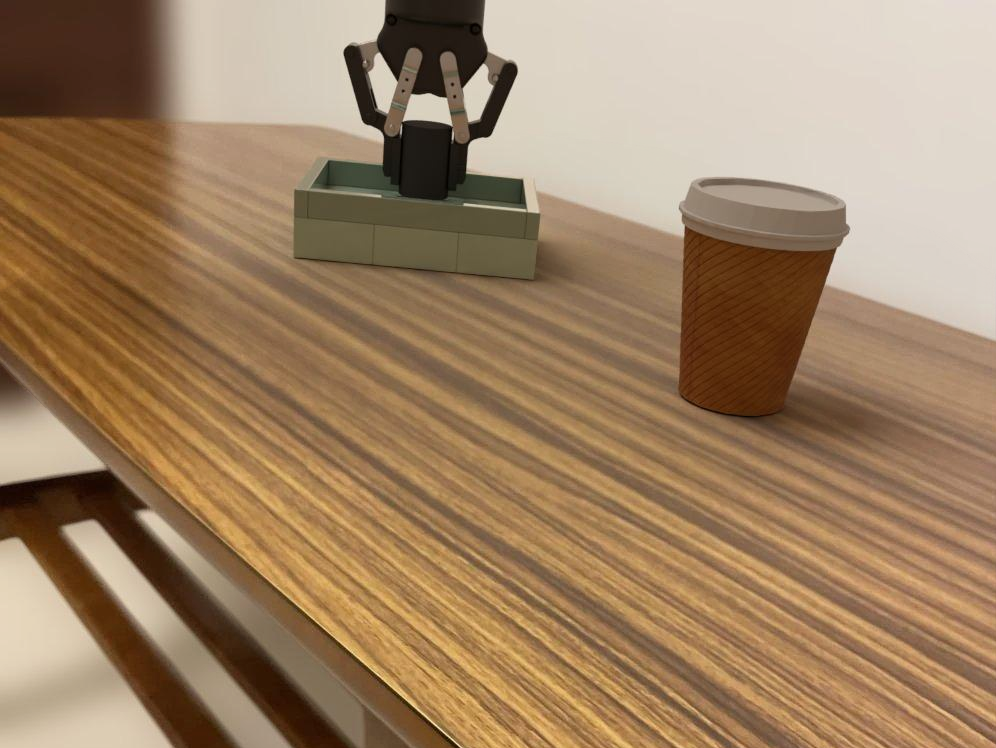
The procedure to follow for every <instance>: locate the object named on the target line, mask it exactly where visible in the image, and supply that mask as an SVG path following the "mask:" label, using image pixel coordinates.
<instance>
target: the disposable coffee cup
mask: <svg viewBox="0 0 996 748" xmlns="http://www.w3.org/2000/svg"><path fill="white" fill-rule="evenodd" d="M678 210H679V212H680V214H681V223H682V224H683V225H684V229H683V230H684V232H683V233H684V235H683V249H682V250H683V254H682V255H683V259H682V282H681V286H682V287H681V289H682V290H681V313H680V314H681V315H680V344H679V370H678V372H679V374H678V393H679V394H680V396H681V397H683V398H684V399H685V400H686V401H689V402H690V403H692V404H694V405H696V406H699V407H701V408H703V409H704V408H705V409H707V410H710V411H714V412H718V413H721V414H726V415H735V416H747V417H758V416H766V415H771V414H775V413H777V412H780V411H781V410H782V409H783V408H784V406H785V403H786V400H787V396H788V393H789V391H790V388H791V384H792V381H793V378H794V376H795V373H796V369H797V366H798V364H799V361H800V358H801V356H802V352H803V350H804V347H805V344H806V341H807V337H808V335H809V331H810V330H811V326H812V323H813V319H814V317H815V315H816V312H817V308H818V306H819V303H820V299H821V297H822V294H823V291H824V288H825V285H826V283H827V278H828V276H829V273H830V271H831V267H832V264H833V262H834V259H835V255H836V253H837V249H838V248H840V247H841V246H842V244H843V243H844V238H846V237H847V236H848V235H849V234H850V231H851V227H850V225H849V224H848V223H847V203H846V202H845V200H843V199H842V198H840V197H838V196H836V195H834V194H831V193H828V192H825V191H822V190H819V189H814V188H810V187H806V186H802V185H797V184H792V183H787V182H782V181H775V180H768V179H759V178H752V177H751V178H750V177H738V176H737V177H736V176H707V177H706V176H705V177H700V178H696V179H694V180H692V181H691V183H690V185H689V187H688V191H687V192H686V196H685V198H684V200H682V201H680V202H679V204H678Z"/></svg>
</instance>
